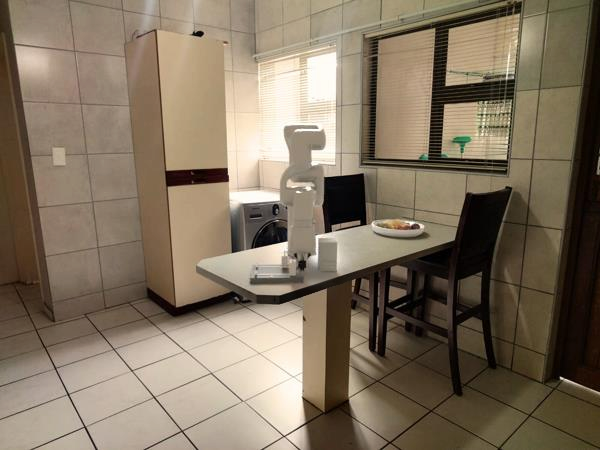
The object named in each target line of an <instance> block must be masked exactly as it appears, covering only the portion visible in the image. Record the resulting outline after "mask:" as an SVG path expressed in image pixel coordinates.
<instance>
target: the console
mask: <svg viewBox="0 0 600 450" xmlns="http://www.w3.org/2000/svg"><path fill="white" fill-rule="evenodd" d="M303 272H304V271H300V268H298V262H296V276H290V274H289V264H288V268H282V264H259V262H256V263H255V264H252V266H251V272H250V279H249V280H250V284H274V283H275V284H276V283H277V284H280V283H281V284H282V283H283V284H285V283H286V284H287V283H294V284H296V283H297V284H299V283H300V284H301V283H303V284H304V273H303Z"/></svg>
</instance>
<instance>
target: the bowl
mask: <svg viewBox="0 0 600 450" xmlns="http://www.w3.org/2000/svg"><path fill="white" fill-rule="evenodd" d="M371 228H372V230H373V232H374V233H377V234H378V235H380V236H385V237H391V238H415V237H418V236H420V235H422V234H423V233H424V231H425V225H424V224H422V223H420V222H416V221H410V220H404V219H397V218H396V219H380V220H373V221H372V222H371Z"/></svg>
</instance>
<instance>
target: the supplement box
mask: <svg viewBox="0 0 600 450" xmlns="http://www.w3.org/2000/svg"><path fill="white" fill-rule="evenodd" d="M317 241H318V243H317V245H318V246H317V250H318V251H317V266H318V267H317V268H318V271H319V272H337V270H338V269H337V268H338V241H337V239H336V238H335V237H318V240H317Z"/></svg>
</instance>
